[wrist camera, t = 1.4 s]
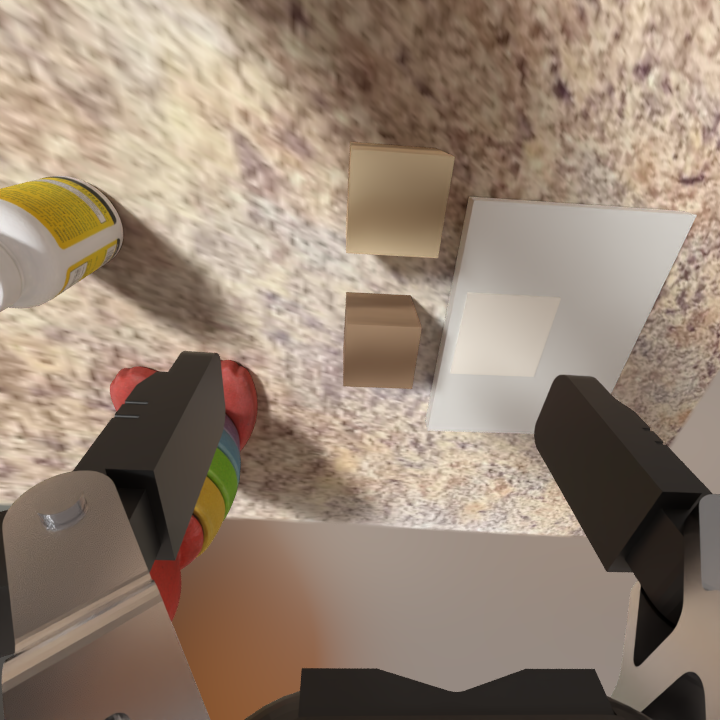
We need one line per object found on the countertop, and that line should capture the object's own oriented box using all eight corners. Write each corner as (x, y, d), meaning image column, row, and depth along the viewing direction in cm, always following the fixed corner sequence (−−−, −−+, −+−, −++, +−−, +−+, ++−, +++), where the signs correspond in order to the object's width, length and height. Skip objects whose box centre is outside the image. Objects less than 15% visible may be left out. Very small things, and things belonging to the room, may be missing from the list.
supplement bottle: (21, 166, 24) (-152, 198, 15) (120, 183, 24) (4, 223, 16) (42, 257, 27) (-96, 325, 18) (130, 270, 27) (36, 342, 19)
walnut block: (346, 291, 29) (346, 324, 24) (410, 295, 29) (421, 327, 25) (343, 347, 31) (343, 386, 27) (402, 350, 31) (411, 388, 27)
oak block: (350, 141, 24) (351, 149, 20) (435, 148, 24) (455, 156, 20) (345, 229, 26) (346, 253, 22) (422, 234, 27) (437, 258, 22)
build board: (468, 196, 25) (474, 200, 24) (682, 210, 26) (699, 215, 25) (425, 421, 35) (428, 432, 34) (584, 426, 36) (592, 437, 35)
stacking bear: (247, 355, 31) (155, 593, 16) (273, 453, 36) (222, 701, 21) (105, 367, 31) (-121, 614, 16) (152, 463, 36) (15, 717, 21)
